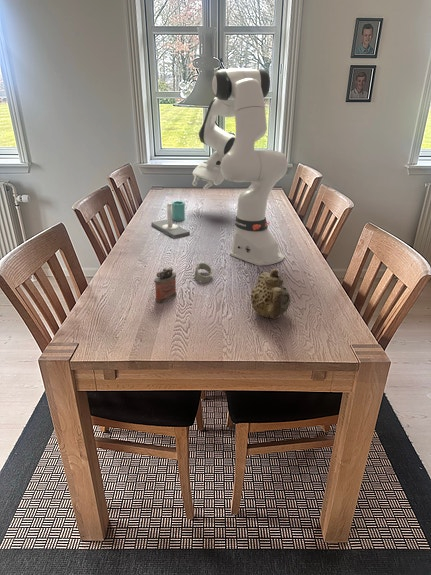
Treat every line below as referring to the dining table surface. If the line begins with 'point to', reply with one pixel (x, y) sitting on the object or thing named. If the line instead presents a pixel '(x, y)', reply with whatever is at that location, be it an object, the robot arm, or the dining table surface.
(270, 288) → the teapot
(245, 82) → the robot arm
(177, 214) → the collar
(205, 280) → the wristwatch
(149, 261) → the dining table surface
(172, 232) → the post stand
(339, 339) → the dining table surface
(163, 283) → the lighter
